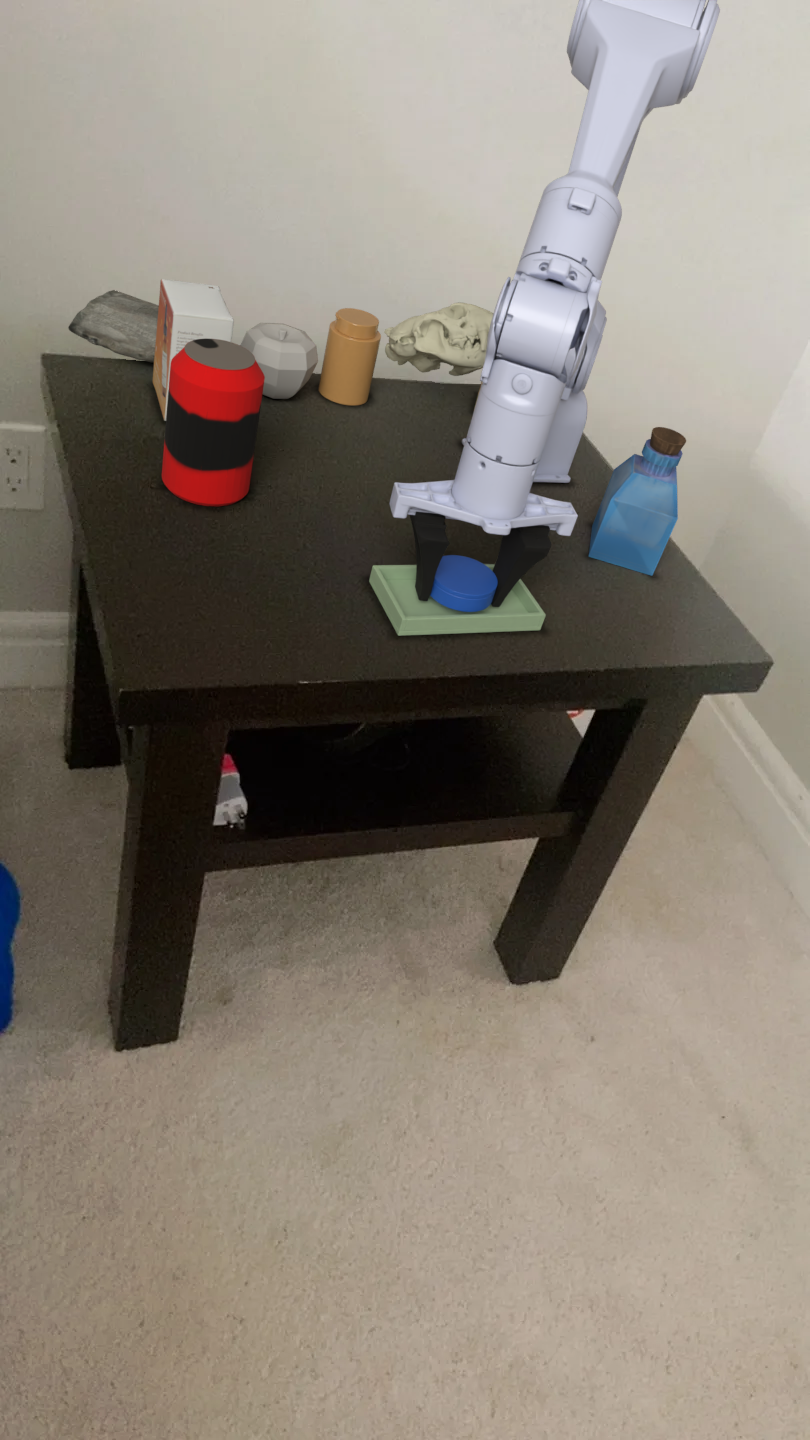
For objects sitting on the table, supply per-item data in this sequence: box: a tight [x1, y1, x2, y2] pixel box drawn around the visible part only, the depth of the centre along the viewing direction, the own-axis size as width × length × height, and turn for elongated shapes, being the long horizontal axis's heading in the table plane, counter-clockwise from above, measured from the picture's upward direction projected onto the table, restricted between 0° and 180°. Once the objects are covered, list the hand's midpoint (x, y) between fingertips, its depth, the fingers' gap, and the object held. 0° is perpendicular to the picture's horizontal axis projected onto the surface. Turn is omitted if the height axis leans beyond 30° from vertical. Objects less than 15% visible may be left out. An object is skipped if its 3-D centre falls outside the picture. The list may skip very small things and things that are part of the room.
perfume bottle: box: [588, 426, 687, 577], centre depth 96 cm, size 6×6×12 cm
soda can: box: [161, 339, 265, 508], centre depth 88 cm, size 8×8×12 cm
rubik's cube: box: [473, 381, 483, 410], centre depth 117 cm, size 6×6×6 cm
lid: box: [430, 554, 498, 612], centre depth 85 cm, size 6×6×2 cm
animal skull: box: [383, 301, 494, 377], centre depth 116 cm, size 15×9×8 cm
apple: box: [239, 322, 319, 400], centre depth 107 cm, size 8×8×7 cm
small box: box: [152, 278, 235, 422], centre depth 99 cm, size 8×6×10 cm
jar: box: [317, 307, 382, 406], centre depth 110 cm, size 5×5×8 cm
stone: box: [67, 289, 159, 364], centre depth 109 cm, size 11×4×15 cm
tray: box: [368, 563, 547, 637], centre depth 86 cm, size 13×7×2 cm, turn 110°
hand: (457, 596), depth 86 cm, fingers closed on lid, 6 cm apart
